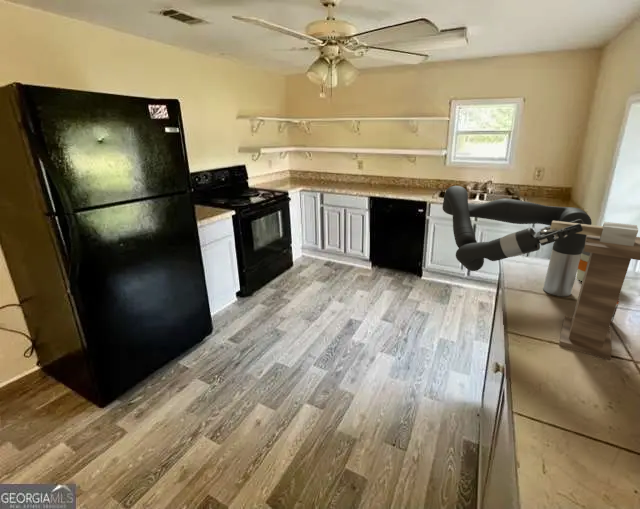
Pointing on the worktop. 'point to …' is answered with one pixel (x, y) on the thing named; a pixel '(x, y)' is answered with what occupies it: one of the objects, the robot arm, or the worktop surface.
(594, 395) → the worktop surface
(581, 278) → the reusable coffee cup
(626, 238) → the grey and beige bar
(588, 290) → the stand
